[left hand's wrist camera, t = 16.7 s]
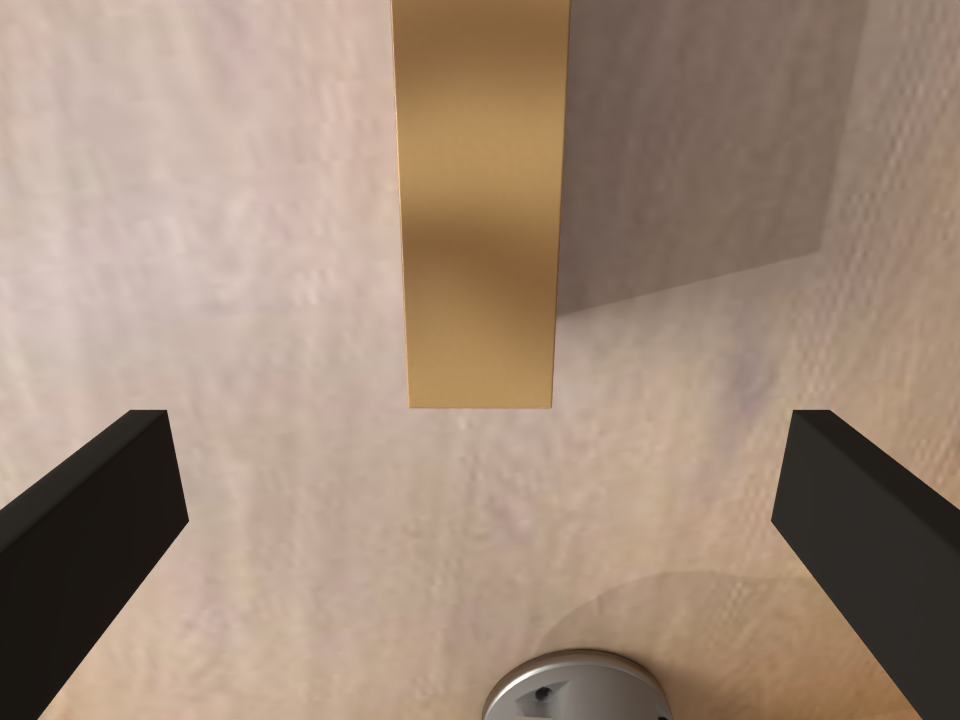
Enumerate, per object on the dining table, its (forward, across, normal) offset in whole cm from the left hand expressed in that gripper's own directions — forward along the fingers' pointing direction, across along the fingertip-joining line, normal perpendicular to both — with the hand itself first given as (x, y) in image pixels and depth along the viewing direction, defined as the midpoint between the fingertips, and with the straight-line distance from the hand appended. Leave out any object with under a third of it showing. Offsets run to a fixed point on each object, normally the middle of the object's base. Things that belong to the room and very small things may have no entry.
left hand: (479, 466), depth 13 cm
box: (+24, 0, -8) cm, 26 cm away
